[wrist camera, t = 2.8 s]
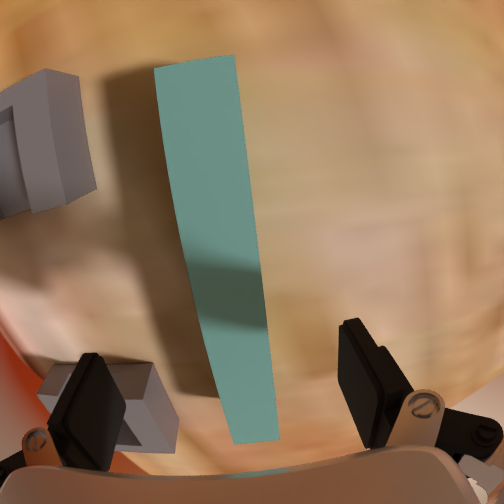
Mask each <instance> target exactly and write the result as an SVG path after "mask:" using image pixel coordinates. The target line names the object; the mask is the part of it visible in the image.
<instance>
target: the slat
mask: <svg viewBox="0 0 504 504" xmlns="http://www.w3.org/2000/svg"><path fill="white" fill-rule="evenodd" d="M154 76H155V85H156V93H157V101H158V109H159V117H160V124H161V131H162V138H163V144H164V151H165V157H166V163H167V169H168V175H169V181H170V187H171V192H172V198H173V203H174V209H175V214H176V219H177V224H178V230H179V234H180V239H181V244H182V249H183V254H184V259H185V263H186V268H187V272H188V277H189V281H190V286H191V290H192V294H193V298H194V303H195V307H196V311H197V315H198V319H199V323H200V327H201V331H202V335H203V339H204V343H205V347H206V350H207V354H208V358H209V362H210V365H211V369H212V372H213V376H214V380H215V383H216V387H217V390H218V394H219V397H220V400H221V404H222V407H223V410H224V414H225V417H226V420H227V424H228V427H229V430H230V433H231V436H232V439H233V442H234V444H246V443H256V442H265V441H273V440H280V435H279V426H278V417H277V407H276V398H275V389H274V380H273V372H272V363H271V354H270V345H269V336H268V327H267V319H266V310H265V301H264V293H263V284H262V276H261V267H260V259H259V250H258V242H257V234H256V225H255V217H254V209H253V200H252V192H251V184H250V176H249V168H248V159H247V151H246V143H245V135H244V127H243V119H242V111H241V103H240V95H239V88H238V80H237V72H236V64H235V56H234V55H226V56H219V57H212V58H205V59H199V60H193V61H187V62H182V63H177V64H172V65H167V66H163V67H158V68H154Z"/></svg>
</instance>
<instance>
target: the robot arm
mask: <svg viewBox="0 0 504 504" xmlns="http://www.w3.org/2000/svg"><path fill="white" fill-rule="evenodd" d="M338 382H339V385H340V388H341V390H342V393H343V395H344V397H345V400H346V402H347V405H348V407H349V410H350V412H351V415H352V417H353V420H354V422H355V425H356V427H357V430H358V432H359V435H360V437H361V440H362V442H363V445H364V447H365V448H366V449H367V448H370V450H367V451H363V452H358V453H354V454H349V455H345V456H341V457H336V458H332V459H327V460H322V461H317V462H312V463H307V464H301V465H296V466H290V467H284V468H277V469H270V470H263V471H254V472H245V473H234V474H220V475H198V476H159V475H137V474H122V473H111V472H107V471H109V469H110V465H111V461H112V457H113V454H114V450H115V446H116V443H117V439H118V435H119V432H120V428H121V425H122V421H123V418H124V414H125V411H126V402H125V400H124V398H123V396H122V394H121V393H120V391H119V389H118V387H117V385H116V383H115V381H114V379H113V377H112V375H111V373H110V371H109V370H108V367H107V365H106V363H105V361H104V359H103V358H102V357H101V356H99V355H98V354H97V353H84V354H83V355H82V356H81V358H80V360H79V362H78V363H77V365H76V367H75V369H74V371H73V373H72V374H71V376H70V378H69V380H68V382H67V384H66V386H65V388H64V390H63V392H62V394H61V395H60V397H59V399H58V401H57V403H56V405H55V407H54V409H53V411H52V414H51V416H50V418H49V420H48V422H47V424H48V426H49V427H48V429H45V428H43V427H36V428H33V429H31V430H29V431H28V432H27V433H26V434H25V435H24V437H23V439H22V450H21V451H19V452H17V453H15V454H13V455H12V456H10V457H8V458H6V459H4V460H3V461H1V462H0V504H481V503H480V501H479V499H478V497H477V496H476V494H475V492H474V490H473V488H472V486H471V484H470V482H469V481H468V479H467V478H473V479H474V480H476V481H477V483H476V484H477V485H479V486H481V487H482V488H483V489H484V490H485V491H486V493H487V495H488V500H487V503H486V504H504V434H503V430H502V427H501V426H500V424H499V423H498V422H497V421H495V420H493V419H491V418H487V417H482V416H478V415H473V414H469V413H465V412H460V411H456V410H452V409H448V408H445V403H444V400H443V398H442V397H441V396H440V395H439V394H438V393H436V392H434V391H431V390H426V389H421V390H416V391H414V389H413V388H412V386H411V385H410V383H409V382H408V380H407V379H406V377H405V375H404V374H403V372H402V371H401V369H400V368H399V366H398V365H397V363H396V362H395V360H394V359H393V357H392V356H391V354H390V353H389V351H388V350H387V348H386V347H385V346H380V347H378V346H377V344H376V343H375V341H374V340H373V338H372V337H371V335H370V334H369V332H368V331H367V329H366V328H365V326H364V325H363V323H362V322H361V320H360V319H359V318H353V319H349V320H344V322H343V325H340V326H339V349H338Z"/></svg>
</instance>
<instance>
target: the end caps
mask: <svg viewBox="0 0 504 504" xmlns="http://www.w3.org/2000/svg"><path fill="white" fill-rule="evenodd" d="M95 189H97V187H96V182H95V178H94V173H93V168H92V163H91V158H90V153H89V147H88V141H87V136H86V129H85V123H84V116H83V109H82V101H81V93H80V84H79V77H78V76H75V75H71V74H67V73H63V72H59V71H54V70H50V69H46V68H45V69H43V70H41V71H39V72H37V73H35V74H33V75H31V76H29V77H27V78H25V79H23V80H22V81H20V82H18V83H16V84H14V85H13V86H11V87H9V88H7V89H6V90H4V91H2V92H0V220H1V219H3V218H5V217H8V216H11V215H14V214H17V213H21V212H24V211H27V210H30V209H31V210H32V214H35V213H38V212H42V211H45V210H49V209H52V208H56V207H60V206H63V205H67V204H69V203H71V202H72V201H74V200H76V199H78V198H80V197H82V196H84V195H86V194H88V193H90V192H92V191H94V190H95ZM75 367H76V365H53V366H52V368H51V369H50V371H49V373H48V374H47V376H46V378H45V380H44V381H43V383H42V385H41V386H40V388H39V390H38V392H37V396H38V397H39V399H40V400H41V402H42V403H43V405H44V406H45V407H46V409H47V410H48V411H49V413H50V414H52V411H53V409H54V407H55V405H56V403H57V401H58V399H59V397H60V395H61V394H62V392H63V390H64V388H65V386H66V384H67V382H68V380H69V378H70V376H71V374H72V373H73V371H74V369H75ZM107 367H108V370H109V371H110V373H111V375H112V377H113V379H114V381H115V383H116V385H117V387H118V389H119V391H120V393H121V394H122V396H123V398H124V400H125V402H126V411H125V414H124V418H123V421H122V425H121V428H120V432H119V435H118V439H117V443H116V446H115V450H114V451H124V452H139V453H173V454H175V447H176V439H177V432H178V425H179V418H178V416H177V414H176V412H175V410H174V408H173V406H172V404H171V402H170V399H169V397H168V395H167V393H166V391H165V389H164V386H163V384H162V382H161V380H160V378H159V375H158V373H157V371H156V368H155V366H154V364H153V363H140V364H113V365H107Z"/></svg>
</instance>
